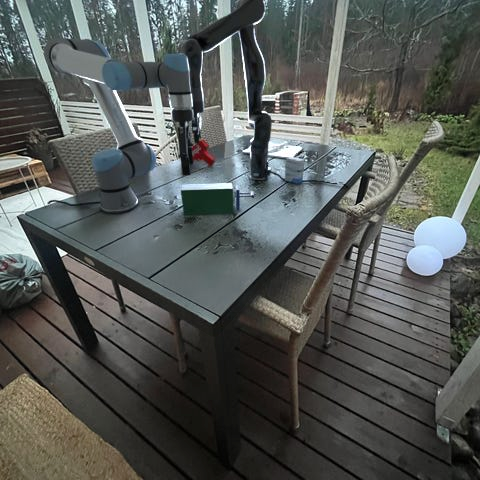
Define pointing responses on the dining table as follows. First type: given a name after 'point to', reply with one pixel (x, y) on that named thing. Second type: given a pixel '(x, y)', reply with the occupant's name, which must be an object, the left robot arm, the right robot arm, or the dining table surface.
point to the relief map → (280, 150)
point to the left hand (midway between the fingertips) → (188, 169)
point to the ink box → (294, 170)
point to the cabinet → (207, 198)
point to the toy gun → (202, 152)
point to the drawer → (242, 196)
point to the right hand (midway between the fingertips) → (197, 140)
